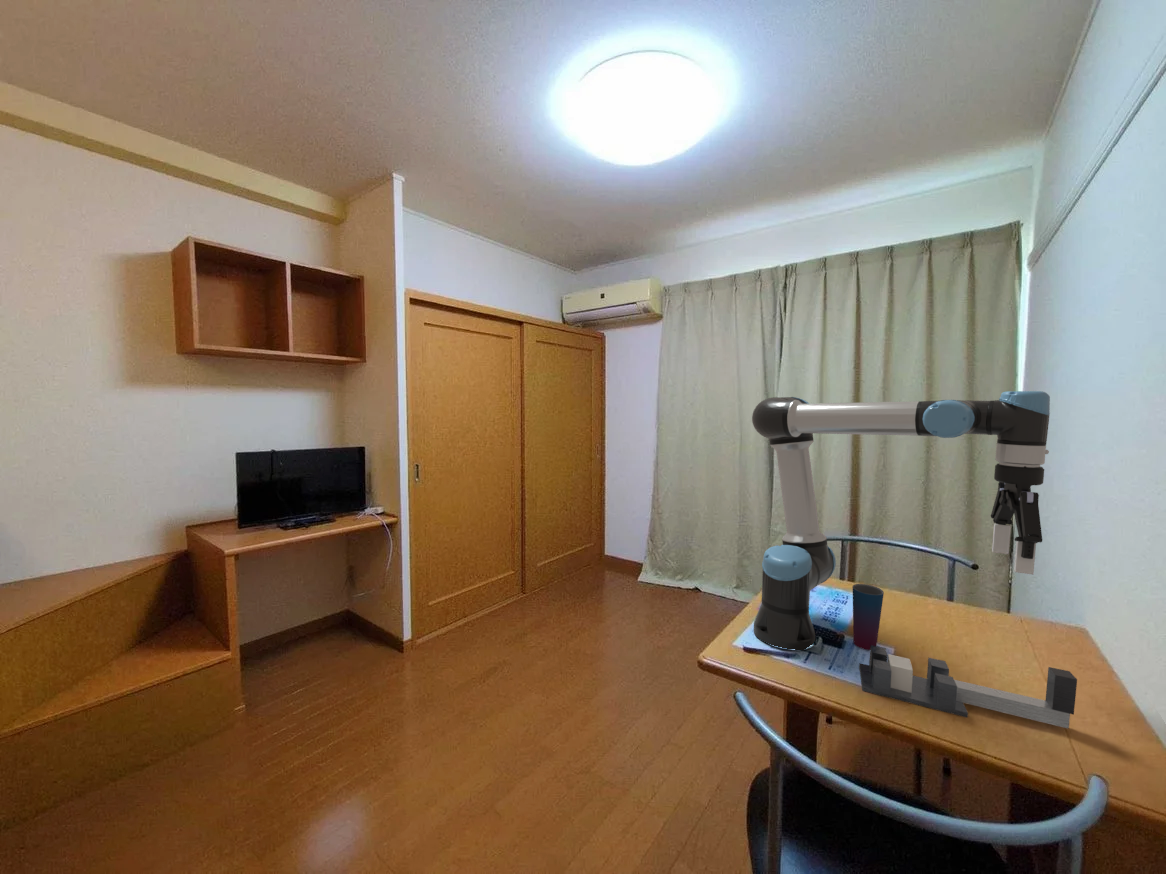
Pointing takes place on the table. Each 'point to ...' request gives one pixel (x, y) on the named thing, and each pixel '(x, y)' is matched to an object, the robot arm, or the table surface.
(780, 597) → the robot arm
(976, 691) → the sliding bolt
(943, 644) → the table surface
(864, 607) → the cup
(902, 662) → the block
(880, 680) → the rail
